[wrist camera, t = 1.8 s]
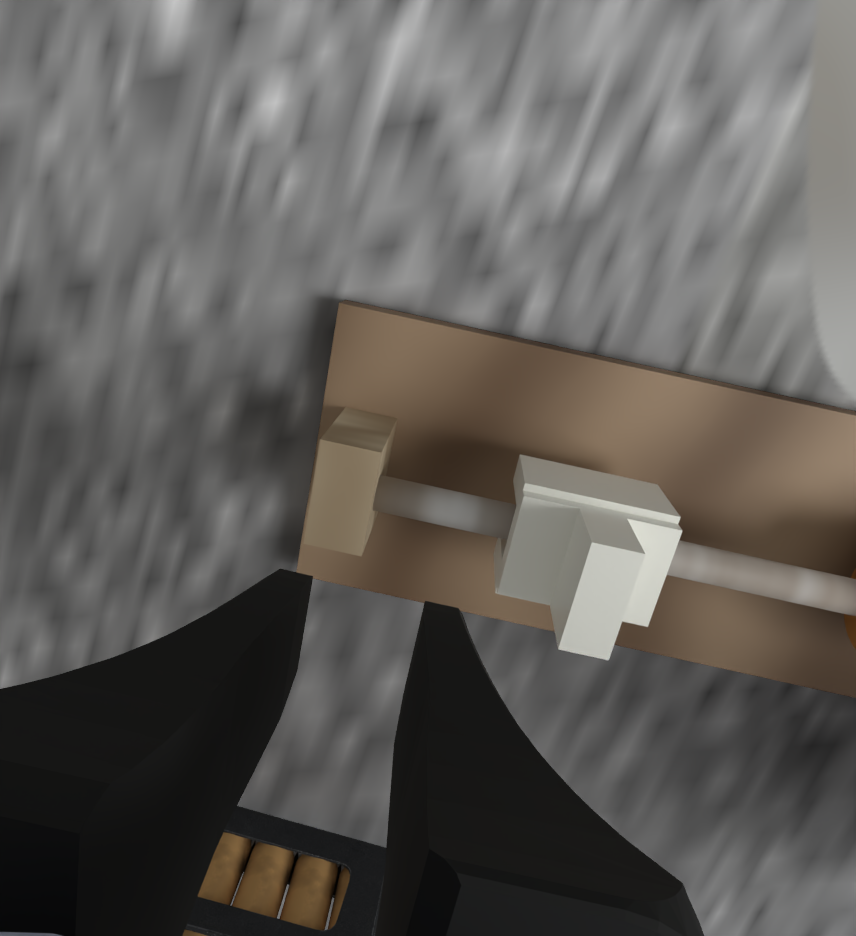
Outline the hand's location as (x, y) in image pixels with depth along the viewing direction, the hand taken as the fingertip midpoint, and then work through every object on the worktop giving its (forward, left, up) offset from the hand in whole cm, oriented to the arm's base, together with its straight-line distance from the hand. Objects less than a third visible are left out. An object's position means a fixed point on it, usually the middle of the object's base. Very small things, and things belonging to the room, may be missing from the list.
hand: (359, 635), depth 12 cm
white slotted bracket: (-5, 0, -8) cm, 10 cm away
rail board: (-9, 0, -10) cm, 14 cm away
